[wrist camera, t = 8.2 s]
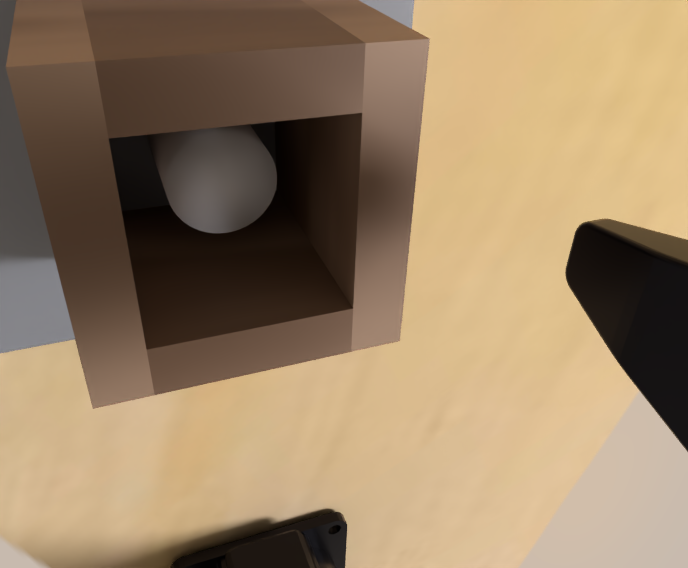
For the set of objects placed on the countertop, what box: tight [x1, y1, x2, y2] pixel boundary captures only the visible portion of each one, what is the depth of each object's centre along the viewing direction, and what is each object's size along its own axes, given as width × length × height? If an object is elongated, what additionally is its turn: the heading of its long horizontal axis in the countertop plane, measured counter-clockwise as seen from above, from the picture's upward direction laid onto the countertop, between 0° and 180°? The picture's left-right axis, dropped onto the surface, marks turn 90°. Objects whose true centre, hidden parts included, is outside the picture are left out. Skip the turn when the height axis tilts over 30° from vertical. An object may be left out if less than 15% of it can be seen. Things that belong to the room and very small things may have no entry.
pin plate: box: [0, 0, 414, 353], centre depth 13 cm, size 10×10×4 cm
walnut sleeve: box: [6, 0, 430, 409], centre depth 12 cm, size 6×6×5 cm
